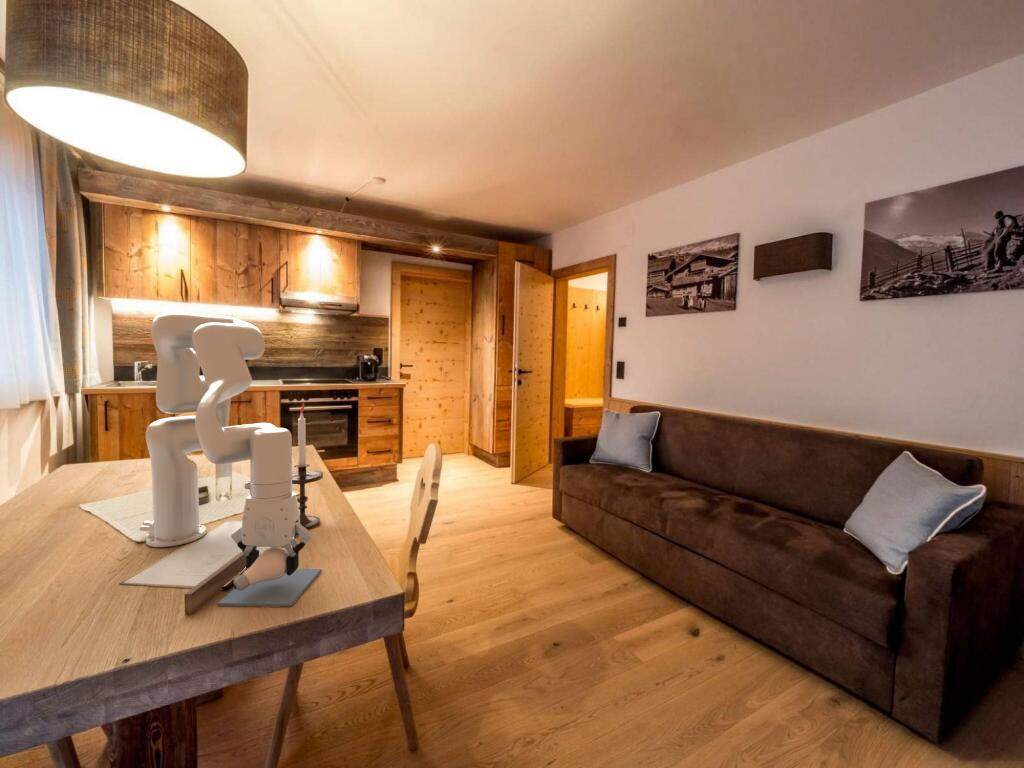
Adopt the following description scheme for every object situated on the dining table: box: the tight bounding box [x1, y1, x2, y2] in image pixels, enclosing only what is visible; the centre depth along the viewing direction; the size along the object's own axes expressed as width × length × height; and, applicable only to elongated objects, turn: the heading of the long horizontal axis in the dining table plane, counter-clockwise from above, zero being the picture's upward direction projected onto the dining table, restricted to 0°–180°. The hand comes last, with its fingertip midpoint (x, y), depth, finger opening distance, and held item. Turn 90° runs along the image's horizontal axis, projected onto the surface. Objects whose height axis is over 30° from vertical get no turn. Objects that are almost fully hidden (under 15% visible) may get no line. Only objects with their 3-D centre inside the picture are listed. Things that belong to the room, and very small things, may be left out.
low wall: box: [183, 550, 246, 616], centre depth 91 cm, size 1×18×4 cm, turn 1°
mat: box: [217, 568, 322, 608], centre depth 92 cm, size 14×14×1 cm
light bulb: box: [232, 547, 289, 591], centre depth 90 cm, size 7×7×11 cm
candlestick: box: [292, 403, 324, 531], centre depth 125 cm, size 11×11×35 cm
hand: (272, 571), depth 92 cm, fingers closed on light bulb, 7 cm apart
